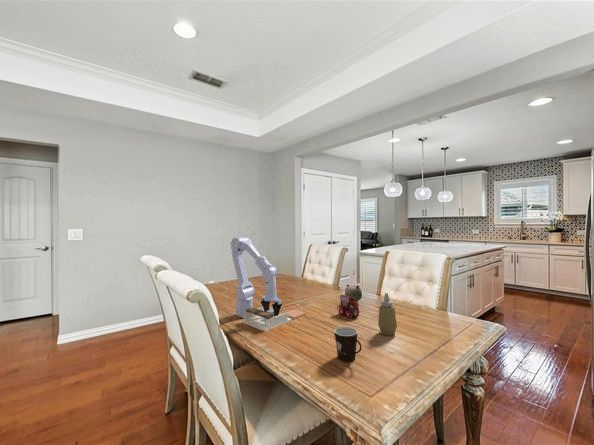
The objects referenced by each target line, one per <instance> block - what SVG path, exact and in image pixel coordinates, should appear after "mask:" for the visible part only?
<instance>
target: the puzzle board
mask: <svg viewBox="0 0 594 445" xmlns="http://www.w3.org/2000/svg"><path fill="white" fill-rule="evenodd" d="M257 309H258V310H261V311H264V308H263V306H261V307H258V308H257ZM287 312H288V311H286V312H284V313H279V315H278V316H275V317H272V318H270V319H267V320H266V318H263V317H260V316H257V315H254V314H251V313H249V312H245V313H244V318H243V319H244V320H242V324H245V325H247V326H250V327H253V328H254V329H257V330H260V331H262V332H268V331H271V330H273V329H275V328H278V327H280V326H282V325H285V324H288V323H290V322H292V320H293V319H292V318H289V317H287Z"/></svg>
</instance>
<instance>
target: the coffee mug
mask: <svg viewBox="0 0 594 445" xmlns="http://www.w3.org/2000/svg"><path fill="white" fill-rule="evenodd" d="M333 332H334V333H333V334H334V340H335V346H336V347H335V348H336V351H337V352H336V354H337V359H338V360H339V361H341V362H342V363H351V362H352V363H353V362H354V361H355V360H356V355H357V354H359V353H360V352H361V351H362V348H363V347H362V343H361V342H360V341H359V340H358V330H357V329H356V328H354V327H351V326H340V327H339V326H338V327H336V328H335V329H334V331H333ZM357 343H358V345H359V349H358V351H357Z"/></svg>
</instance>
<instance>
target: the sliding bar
mask: <svg viewBox="0 0 594 445" xmlns="http://www.w3.org/2000/svg"><path fill="white" fill-rule="evenodd" d="M246 312H249V313H251V314H254V315H257V316H260V317H263V318H266V319H270V318H272V317H273V314H271V313H268V312H264V311H261V310H258V308H255V307H253V308H252V307H251V308H248V309H246Z"/></svg>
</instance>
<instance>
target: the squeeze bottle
mask: <svg viewBox="0 0 594 445" xmlns="http://www.w3.org/2000/svg"><path fill="white" fill-rule="evenodd" d="M380 302H381V303H380V305H379V308H378V310H379V311H378V320H377V322H378V323H377V324H378V328H379V331H380V333H381V335H384V336H388V337H389V336H390V337H391V336H394V335H395V334H396V330H397V328H398V322H397V315H396V309H395V306H393V301H392V300H390V297H389V293H388V292H385V293H384V296H383V299H382V300H381V301H380Z"/></svg>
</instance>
